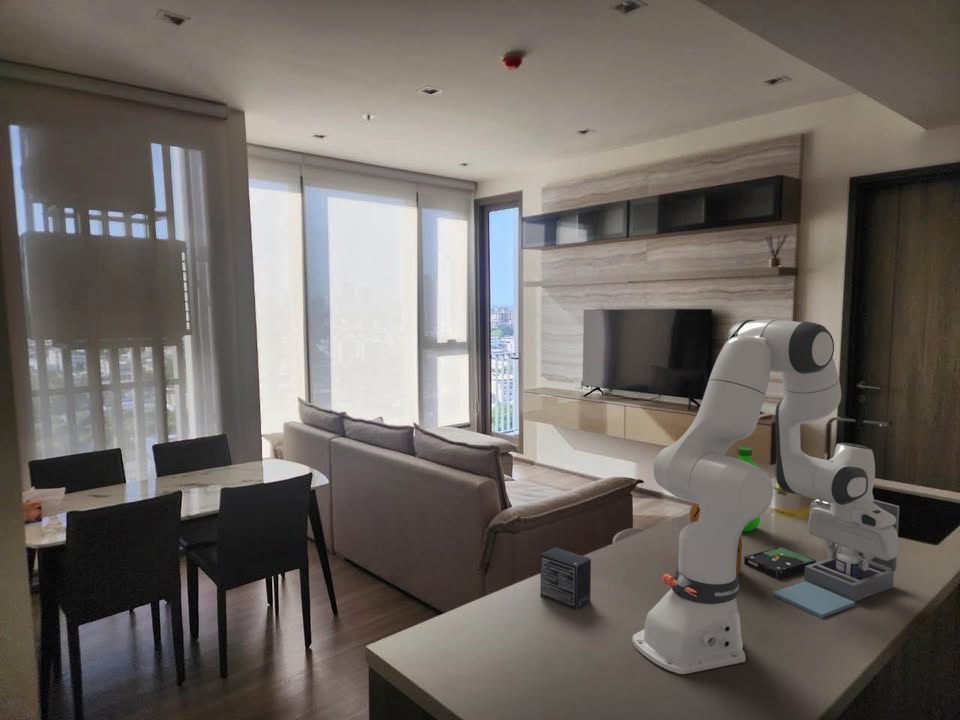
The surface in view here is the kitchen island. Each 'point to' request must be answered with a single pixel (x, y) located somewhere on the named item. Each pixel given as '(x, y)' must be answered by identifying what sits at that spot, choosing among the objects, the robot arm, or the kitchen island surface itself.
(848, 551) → the pill bottle
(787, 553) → the disk drive
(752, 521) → the plastic bottle
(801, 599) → the mat
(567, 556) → the small box
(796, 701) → the kitchen island surface
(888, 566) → the hinged lid box
